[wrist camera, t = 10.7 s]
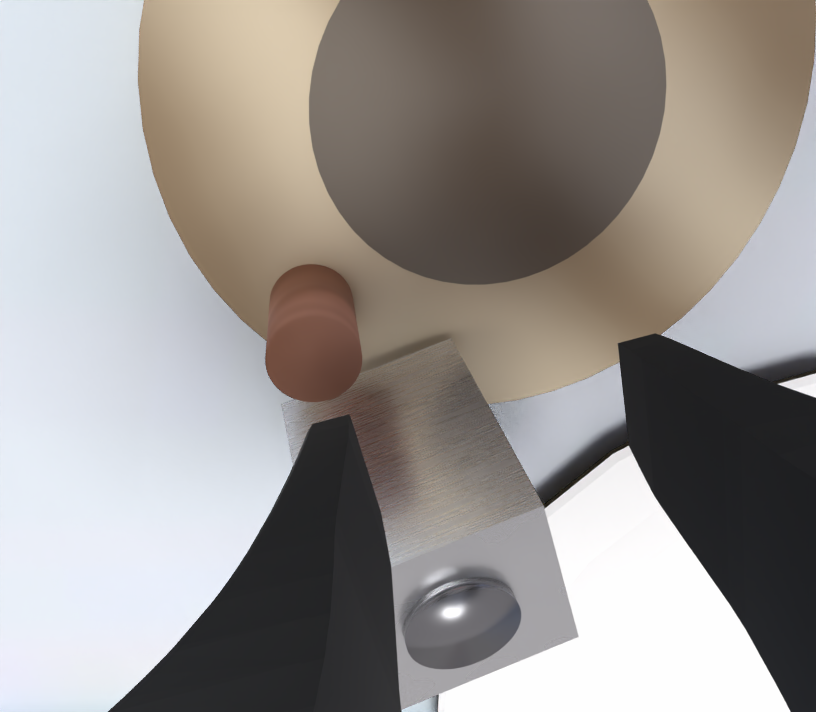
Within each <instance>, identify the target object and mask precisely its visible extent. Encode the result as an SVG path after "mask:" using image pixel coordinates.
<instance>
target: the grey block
mask: <svg viewBox="0 0 816 712" xmlns="http://www.w3.org/2000/svg"><path fill="white" fill-rule="evenodd" d="M281 405H282V410H283V415H284V420H285V425H286V431H287V436H288V441H289V446H290V452H291V457H292V462H293V465H294V463H295V461H296V458H297V456H298V454H299V451H300V449H301V447H302V444H303V442H304V439H305V437H306V434H307V432H308V430H309V429H310V427H311V426H312V424H314V423H318V422H322V421H325V420H329V419H333V418H337V417H340V416H344V415H348V414H350V417H351V420H352V423H353V426H354V429H355V432H356V435H357V438H358V442H359V445H360V448H361V451H362V454H363V457H364V460H365V463H366V467H367V470H368V473H369V476H370V479H371V482H372V485H373V489H374V492H375V495H376V498H377V501H378V504H379V507H380V510H381V514H382V520H383V525H384V530H385V535H386V540H387V546H388V551H389V557H390V562H391V570H392V584H393V599H394V614H395V630H396V646H397V662H398V678H399V693H400V702H401V710H402V709H404V708H407V707H409V706H412V705H414V704H416V703H419V702H421V701H424V700H426V699H429V698H431V697H434V696H436V695H438V694H441V693H443V692H446V691H448V690H451V689H453V688H455V687H458V686H460V685H463V684H465V683H468V682H470V681H472V680H475V679H477V678H480V677H482V676H485V675H487V674H490V673H492V672H494V671H497V670H499V669H502V668H504V667H507V666H509V665H511V664H514V663H516V662H519V661H521V660H524V659H526V658H528V657H531V656H533V655H536V654H538V653H541V652H543V651H546V650H548V649H550V648H553V647H555V646H558V645H560V644H563V643H565V642H567V641H570V640H572V639H575V638H577V637H579V636H578V632H577V628H576V625H575V621H574V617H573V613H572V610H571V606H570V602H569V599H568V595H567V591H566V587H565V584H564V580H563V576H562V572H561V569H560V565H559V561H558V557H557V554H556V550H555V546H554V543H553V539H552V535H551V531H550V528H549V524H548V520H547V516H546V513H545V509H544V505H543V504H542V502H541V500H540V498H539V496H538V495H537V493H536V491H535V489H534V487H533V485H532V484H531V482H530V480H529V478H528V476H527V475H526V473H525V471H524V469H523V467H522V466H521V464H520V462H519V460H518V458H517V456H516V455H515V453H514V451H513V449H512V447H511V446H510V444H509V442H508V440H507V438H506V436H505V435H504V433H503V431H502V429H501V427H500V426H499V424H498V422H497V420H496V418H495V417H494V415H493V413H492V411H491V409H490V407H489V406H488V404H487V402H486V400H485V398H484V397H483V395H482V393H481V391H480V389H479V388H478V386H477V384H476V382H475V380H474V378H473V377H472V375H471V373H470V371H469V369H468V368H467V366H466V364H465V362H464V360H463V359H462V357H461V355H460V353H459V351H458V349H457V348H456V346H455V344H454V342H453V340H452V339H451V338H449V339H446V340H444V341H441V342H439V343H436V344H433V345H431V346H428V347H426V348H423V349H421V350H418V351H416V352H413V353H411V354H408V355H405V356H403V357H400V358H398V359H395V360H393V361H390V362H388V363H385V364H383V365H380V366H378V367H375V368H372V369H370V370H367V371H365V372H362V373H360V374H359V376H358V378H357V379H356V381H355V382H354V384H353V385H352V386H351V387H350V388H349V389H348V390H347V391H346V392H344V393H343V394H341V395H339V396H338V397H336V398H333V399H330V400H327V401H322V402H304V401H300V400H296V399H294V400H291V401H289V402H286V403H283V404H281Z"/></svg>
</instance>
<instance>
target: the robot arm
mask: <svg viewBox="0 0 816 712" xmlns="http://www.w3.org/2000/svg"><path fill="white" fill-rule="evenodd" d="M618 351H619V360H620V368H621V377H622V386H623V395H624V404H625V413H626V422H627V431H628V440H629V447H630V449H631V451H632V453H633V455H634V457H635V459H636V461H637V463H638V466H639V468H640V470H641V472H642V474H643V476H644V477H645V479H646V481H647V483H648V485H649V487H650V489H651V491H652V493H653V495H654V496H655V498H656V500H657V501H658V503H659V504H660V505H661V507H662V508H663V510H664V511H665V513H666V514H667V516H668V517H669V519H670V520H671V522H672V523H673V524H674V526H675V527H676V529H677V530H678V532H679V533H680V535H681V536H682V537H683V539H684V540H685V542H686V543H687V544H688V546H689V547H690V549H691V550H692V552H693V553H694V554H695V556H696V557H697V559H698V560H699V562H700V563H701V564H702V566H703V567H704V569H705V570H706V572H707V573H708V574H709V576H710V577H711V579H712V580H713V582H714V583H715V584H716V586H717V587H718V589H719V590H720V591H721V593H722V594H723V596H724V597H725V599H726V600H727V601H728V603H729V604H730V606H731V607H732V609H733V611H734V612H735V614H736V615H737V617H738V618H739V620H740V622H741V623H742V625H743V626H744V628H745V629H746V631H747V633H748V635H749V636H750V638H751V640H752V642H753V644H754V645H755V647H756V649H757V651H758V653H759V654H760V656H761V658H762V660H763V662H764V664H765V665H766V667H767V669H768V671H769V673H770V674H771V676H772V678H773V680H774V682H775V683H776V685H777V687H778V689H779V691H780V693H781V695H782V696H783V698H784V700H785V702H786V704H787V706H788V708H789V710H790V712H816V398H815V397H813V396H810V395H807V394H804V393H801V392H798V391H795V390H792V389H790V388H787V387H784V386H781V385H779V384H776V383H774V382H771V381H768V380H766V379H763V378H761V377H758V376H756V375H753V374H751V373H748V372H746V371H744V370H741V369H739V368H736V367H734V366H732V365H729V364H727V363H725V362H722V361H720V360H718V359H715V358H713V357H711V356H708V355H706V354H704V353H702V352H699V351H697V350H695V349H693V348H690V347H688V346H686V345H683V344H681V343H679V342H676V341H674V340H672V339H669V338H667V337H664V336H661V335H659V334H656V333H654V334H651V335H647V336H643V337H639V338H635V339H632V340H628V341H624V342H620V343H618ZM108 712H401V702H400V693H399V678H398V662H397V646H396V630H395V614H394V599H393V584H392V570H391V562H390V557H389V551H388V546H387V540H386V535H385V530H384V525H383V520H382V514H381V510H380V507H379V504H378V501H377V498H376V495H375V492H374V489H373V485H372V482H371V479H370V476H369V473H368V470H367V467H366V463H365V460H364V457H363V454H362V451H361V448H360V445H359V442H358V438H357V435H356V432H355V429H354V426H353V423H352V420H351V417H350V414H348V415H344V416H340V417H337V418H333V419H329V420H325V421H322V422H318V423H314V424H312V426H311V427H310V429H309V430H308V432H307V434H306V437H305V439H304V442H303V444H302V447H301V449H300V451H299V454H298V456H297V458H296V461H295V463H294V465H293V467H292V470H291V472H290V474H289V476H288V478H287V480H286V482H285V484H284V486H283V488H282V490H281V493H280V495H279V497H278V499H277V501H276V503H275V505H274V507H273V509H272V510H271V512H270V514H269V516H268V518H267V519H266V521H265V523H264V525H263V526H262V528H261V530H260V532H259V533H258V535H257V537H256V538H255V540H254V542H253V544H252V545H251V547H250V549H249V550H248V552H247V554H246V555H245V557H244V558H243V560H242V561H241V563H240V564H239V566H238V568H237V569H236V570H235V572H234V573H233V575H232V576H231V578H230V579H229V581H228V582H227V583H226V585H225V586H224V587H223V589H222V590H221V592H220V593H219V594H218V596H217V597H216V598H215V599H214V601H213V602H212V603H211V604H210V606H209V607H208V608H207V609H206V610H205V611H204V613H203V614H202V615H201V616H200V617H199V618H198V620H197V621H196V622H195V623H194V624H193V625H192V627H191V628H190V629H189V630H188V631H187V632H186V634H185V635H184V636H183V637H182V638H181V639H180V641H179V642H178V643H177V644H176V645H175V646H174V647H173V649H172V650H171V651H170V652H169V653H168V654H167V655H166V656H165V657H164V658H163V659H162V660H161V661H160V662H159V663H158V664H157V665H156V666H155V667H154V668H153V669H152V670H151V671H150V672H149V673H148V674H147V675H146V676H145V677H144V678H143V679H142V680H141V681H140V682H139V683H138V684H137V685H136V686H135V687H134V688H133V689H132V690H131V691H130V692H129V693H128V694H127V695H126V696H125V697H124V698H122V699H121V700H120V701H119V702H118V703H117V704H116V705H115V706H114V707H113V708H111V709H110V710H109V711H108Z"/></svg>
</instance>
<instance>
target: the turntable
mask: <svg viewBox="0 0 816 712" xmlns="http://www.w3.org/2000/svg"><path fill="white" fill-rule="evenodd" d="M815 28H816V5H815V0H144V5H143V11H142V17H141V23H140V29H139V62H138V86H139V95H140V105H141V115H142V125H143V132H144V136H145V140H146V144H147V149H148V153H149V157H150V161H151V166H152V170H153V174H154V177H155V180H156V182H157V185H158V188H159V190H160V193H161V196H162V198H163V201H164V204H165V206H166V209H167V212H168V214H169V217H170V219H171V221H172V223H173V225H174V227H175V228H176V230H177V232H178V234H179V236H180V238H181V240H182V242H183V244H184V245H185V247H186V249H187V251H188V253H189V255H190V257H191V258H192V259H193V261H194V262H195V264H196V265H197V266H198V268H199V269H200V271H201V272H202V274H203V275H204V276H205V278H206V279H207V281H208V282H209V283H210V285H211V286H212V288H213V289H214V290H215V292H216V293H217V294H218V295H219V296H220V297H221V298H222V299H223V300H224V301H225V302H226V304H227V305H228V306H229V307H230V308H231V309H232V310H233V311H234V312H235V313H236V314H237V316H238V317H239V318H240V319H241V320H242V321H243V322H245V323H246V324H247V325H248V326H249V327H250V328H252V329H253V330H254V331H255V332H256V333H258V334H259V335H260V336H261V337H262V338H263V339H265V340H266V341H267V343H266V357H265V362H266V369H267V372H268V375H269V377H270V379H271V381H272V382H273V384H274V385H275V386H276V387H277V388H278V389H279V390H280V391H281V392H283V393H284V394H286V395H287V396H289V397H291V398H293V399H296V400H300V401H304V402H322V401H327V400H330V399H333V398H336V397H338V396H339V395H341V394H343V393H344V392H346V391H347V390H348V389H349V388H350V387H351V386H352V385H353V384H354V382H355V381H356V379H357V378H358V376H359V374H360V373H362V372H365V371H367V370H370V369H372V368H375V367H378V366H380V365H383V364H385V363H388V362H390V361H393V360H395V359H398V358H400V357H403V356H405V355H408V354H411V353H413V352H416V351H418V350H421V349H423V348H426V347H428V346H431V345H433V344H436V343H439V342H441V341H444V340H446V339H449V338H451V339H452V340H453V342H454V344H455V346H456V348H457V349H458V351H459V353H460V355H461V357H462V359H463V360H464V362H465V364H466V366H467V368H468V369H469V371H470V373H471V375H472V377H473V378H474V380H475V382H476V384H477V386H478V388H479V389H480V391H481V393H482V395H483V397H484V398H485V400H486V402H487V404H492V403H499V402H507V401H514V400H519V399H523V398H527V397H531V396H535V395H539V394H543V393H547V392H551V391H554V390H557V389H559V388H562V387H565V386H568V385H570V384H573V383H576V382H578V381H581V380H584V379H586V378H588V377H590V376H593V375H595V374H597V373H599V372H601V371H603V370H605V369H607V368H609V367H611V366H613V365H615V364H617V363H619V362H620V360H619V351H618V343H620V342H624V341H628V340H632V339H635V338H639V337H643V336H647V335H651V334H654V333H656V334H659V335H661V334H662V333H663V332H665V331H666V330H667V329H668V328H670V327H671V326H672V325H673V324H675V323H676V322H677V321H678V320H680V319H681V318H682V317H683V316H684V315H685V314H686V313H687V312H688V311H689V310H690V309H692V308H693V307H694V306H695V305H696V304H697V303H698V302H699V301H700V300H701V299H702V298H703V297H704V296H705V295H706V294H707V293H708V292H709V291H710V290H711V289H712V288H713V286H714V285H715V284H716V283H717V282H718V280H719V279H720V278H721V277H722V276H723V274H724V273H725V272H726V271H727V270H728V268H729V267H730V266H731V265H732V264H733V262H734V261H735V260H736V259H737V257H738V256H739V254H740V253H741V251H742V250H743V248H744V247H745V245H746V244H747V242H748V241H749V239H750V238H751V236H752V235H753V233H754V232H755V230H756V229H757V227H758V226H759V224H760V223H761V221H762V219H763V217H764V215H765V213H766V211H767V209H768V207H769V205H770V204H771V202H772V200H773V198H774V196H775V194H776V192H777V190H778V188H779V186H780V184H781V181H782V179H783V176H784V174H785V171H786V169H787V166H788V164H789V161H790V159H791V156H792V154H793V151H794V149H795V146H796V142H797V139H798V135H799V131H800V128H801V124H802V121H803V117H804V113H805V110H806V106H807V102H808V95H809V89H810V83H811V76H812V70H813V64H814V53H815Z"/></svg>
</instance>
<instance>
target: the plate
mask: <svg viewBox="0 0 816 712" xmlns="http://www.w3.org/2000/svg"><path fill="white" fill-rule="evenodd" d="M774 383H776V384H779V385H781V386H784V387H787V388H790V389H792V390H795V391H798V392H801V393H804V394H807V395H810V396H813V397H815V398H816V370H813V371H810V372H806V373H803V374H799V375H795V376H792V377H788V378H785V379H781V380H777V381H774ZM544 509H545V513H546V516H547V520H548V524H549V528H550V531H551V535H552V539H553V543H554V546H555V550H556V554H557V557H558V561H559V565H560V569H561V572H562V576H563V580H564V584H565V587H566V591H567V595H568V599H569V602H570V606H571V610H572V613H573V617H574V621H575V625H576V628H577V632H578V636H579V637H577V638H575V639H572V640H570V641H567V642H565V643H563V644H560V645H558V646H555V647H553V648H550V649H548V650H546V651H543V652H541V653H538V654H536V655H533V656H531V657H528V658H526V659H524V660H521V661H519V662H516V663H514V664H511V665H509V666H507V667H504V668H502V669H499V670H497V671H494V672H492V673H490V674H487V675H485V676H482V677H480V678H477V679H475V680H472V681H470V682H468V683H465V684H463V685H460V686H458V687H455V688H453V689H451V690H448V691H446V692H443V693H441V694H438V706H437V712H790V710H789V708H788V706H787V704H786V702H785V700H784V698H783V696H782V695H781V693H780V691H779V689H778V687H777V685H776V683H775V682H774V680H773V678H772V676H771V674H770V673H769V671H768V669H767V667H766V665H765V664H764V662H763V660H762V658H761V656H760V654H759V653H758V651H757V649H756V647H755V645H754V644H753V642H752V640H751V638H750V636H749V635H748V633H747V631H746V629H745V628H744V626H743V625H742V623H741V622H740V620H739V618H738V617H737V615H736V614H735V612H734V611H733V609H732V607H731V606H730V604H729V603H728V601H727V600H726V599H725V597H724V596H723V594H722V593H721V591H720V590H719V589H718V587H717V586H716V584H715V583H714V582H713V580H712V579H711V577H710V576H709V574H708V573H707V572H706V570H705V569H704V567H703V566H702V564H701V563H700V562H699V560H698V559H697V557H696V556H695V554H694V553H693V552H692V550H691V549H690V547H689V546H688V544H687V543H686V542H685V540H684V539H683V537H682V536H681V535H680V533H679V532H678V530H677V529H676V527H675V526H674V524H673V523H672V522H671V520H670V519H669V517H668V516H667V514H666V513H665V511H664V510H663V508H662V507H661V505H660V504H659V503H658V501H657V500H656V498H655V496H654V495H653V493H652V491H651V489H650V487H649V485H648V483H647V481H646V479H645V477H644V476H643V474H642V472H641V470H640V468H639V466H638V463H637V461H636V459H635V457H634V455H633V453H632V451H631V449H630V447H629V442H627V443H625V444H623V445H621V446H619V447H617V448H615V449H613V450H611V451H610V452H609V453H608V454H606V455H605V456H604V457H603V458H601V459H600V460H599V461H598V462H596V463H595V464H594V465H593V466H591V467H590V468H589V469H588V470H587V471H585V472H584V473H583V474H582V475H580V476H579V477H578V478H577V479H575V480H574V481H573V482H572V483H570V484H569V485H568V486H567V487H565V488H564V489H563V490H562V491H560V492H559V493H558V494H557V495H555V496H554V497H553V498H552V499H550V500H549V501H548V502H547V503H545V504H544Z"/></svg>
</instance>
